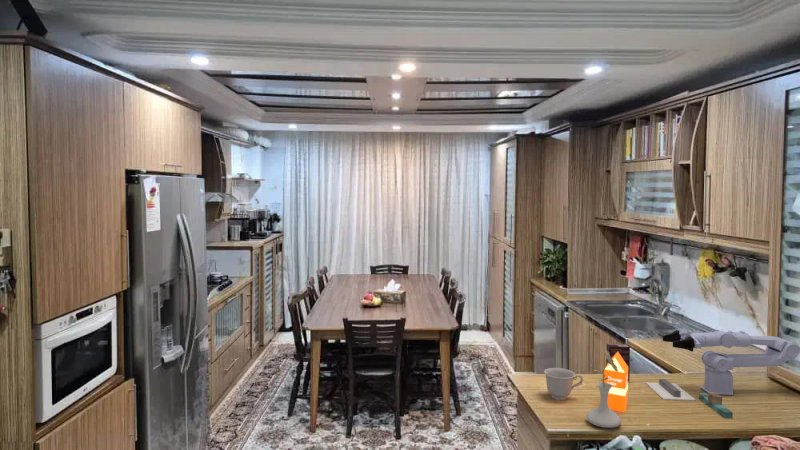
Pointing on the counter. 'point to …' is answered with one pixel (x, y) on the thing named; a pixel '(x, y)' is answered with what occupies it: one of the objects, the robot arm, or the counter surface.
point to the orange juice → (617, 384)
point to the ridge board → (667, 395)
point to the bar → (715, 404)
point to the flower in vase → (604, 404)
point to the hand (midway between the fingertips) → (667, 341)
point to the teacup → (561, 382)
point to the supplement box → (622, 350)
